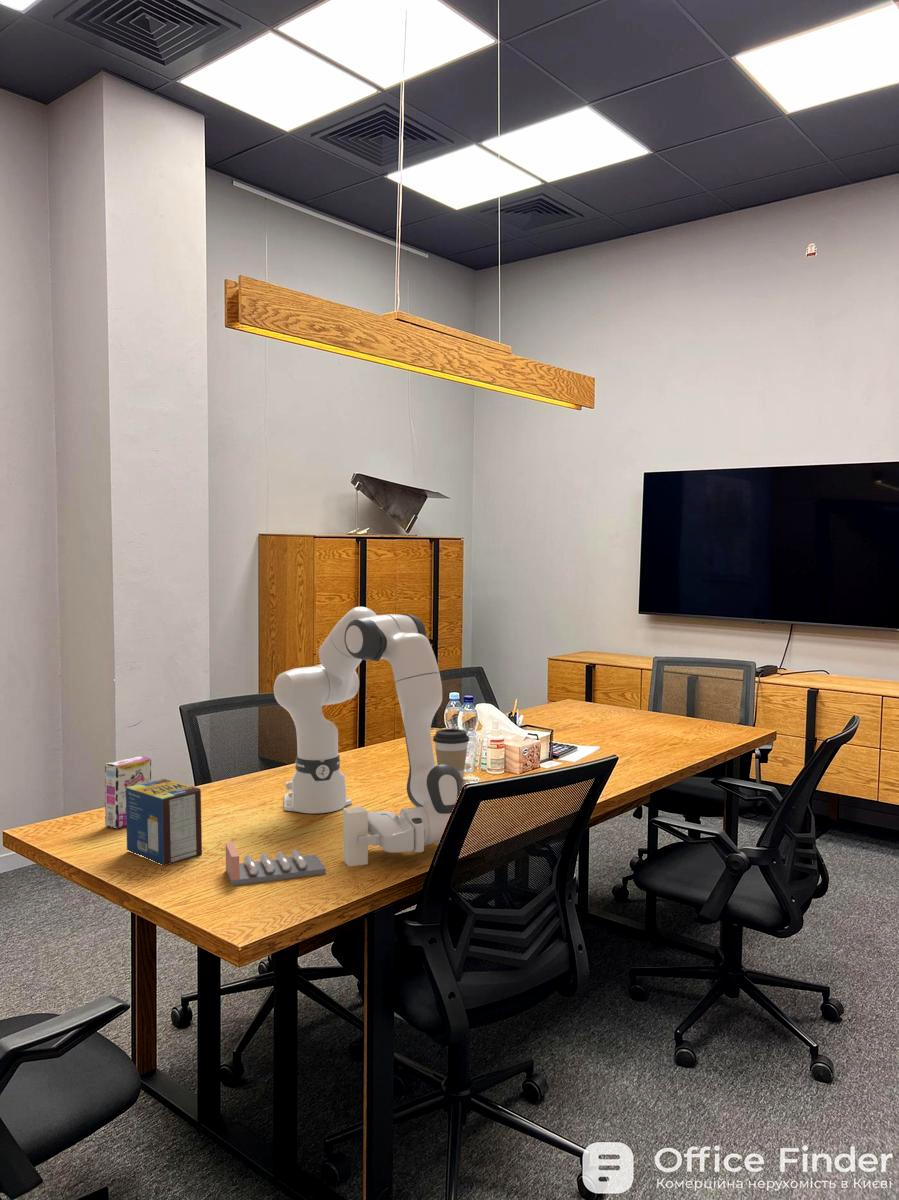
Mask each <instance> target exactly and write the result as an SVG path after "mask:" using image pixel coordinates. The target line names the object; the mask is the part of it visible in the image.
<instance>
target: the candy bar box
mask: <svg viewBox="0 0 899 1200" xmlns="http://www.w3.org/2000/svg"><path fill="white" fill-rule="evenodd" d="M148 782H152V758H151V757H150V758H149V757H146V756H135V757H131V758H130V757H129V758H126V759H120V760H116V761H112V762H107V763H105V764H104V787H105V788H104V793H105V796H104V805H105V806H104V807H105V808H104V811H105V812H104V814H105V815H104V819H105V820H104V821H105V822H104V823H105V824H104V826H105V827H106V826H107V827H106V828H109V827H112V828H111V829H113V828H116V829H115V830H119V829H118V828H120V829H122V827H123V828H125V827H124V826H126V827H127V824H126V787H129V786H134V785H139V784H143V783H148Z"/></svg>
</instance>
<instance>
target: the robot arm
mask: <svg viewBox="0 0 899 1200" xmlns="http://www.w3.org/2000/svg"><path fill="white" fill-rule="evenodd" d="M426 629H427V628H426V626H425V624H424V622H423V621H422V619H420V618H419V617H417V616H415V615H413V614H408V613H402V614H397V613H396V614H395V613H394V614H393V613H390V614H389V613H388V614H387V613H385V614H379V615H377V613H376V612H375V611H373V610H372V609H371V608H369V607H365V606H356V607H353V608H352V609H350V610H349V611H347V613H345V615H344V616H342V617H341V618H340V620H338V622H337V623H335V625H334V626H333V628H332V629H331V631H330V633H328V635H327V637H326V638H325V640H324V641H323V642H322V643H321V645H320V647H319V649H318V658H319V662H320V664H318V665H313V666H306V667H297V668H296V667H295V668H292V669H289V670H285V671H283V672H281V673H280V674H278V675H277V676H276V679H274V680H275V681H274V684H273V695H274V699H275V700H276V702H277V703H278V704H279V706H280V707H282V708H283V709H284V710H286V711H287V712H288V713H289V715H290V717H291V719H292V721H293V723H294V727H295V731H296V742H297V743H296V746H297V747H296V748H297V751H296V752H297V755H296V757H295V770H294V771H295V772H294V773H293V775H292V778H291V781H286V782H285V787H286V789H285V790H286V791H288V792H287V793H285V794H284V798H283V799H284V801H283V811H287V812H298V813H304V814H325V813H332V812H336V811H340V810H343V808H346V806H350V805H352V803H353V801H352V799H350V798H349V797H347V790H346V789H347V788H346V787H347V785H346V775H345V774H344V773H343V772H342V771H341V770H340V768H341V759H340V754H339V731H338V728H337V725H336V724H335V723H334V722H333V721H330V720H329V719H327V718H325V716H324V712H323V706H328V705H329V706H330V705H337V704H342V703H343V702H346V701H349V700H351V699H353V698H355V697H356V695H357V694H358V692H359V688H360V678H359V675H358V673H357V671H356V669H357V668H358V667H359V665H360V664H361V662H362V661H370V662H371V661H373V662H379V661H380V660H386V662H389V664H390V666H391V668H392V675H393V679H394V685H395V691H396V694H397V699H398V703H399V707H400V710H401V711H400V712H401V718H402V722H403V731H404V737H405V745H406V751H407V760H408V766H409V770H408V776H407V782H406V793H407V797H408V799H409V800H410V802H411V803H412V804H413V807H407V808H406V807H405V808H401V809H400V810H399V814H396V813H394V812H393V811H391V810H390V811H389V810H380V811H368V835H367V836H366V835H359V836H358V837H357V839H358V840H357V842H358V843H359V844H360V845H366V844H367V845H368V846H374V847H375V846H376V847H377V846H379V847H380V848H381V849H382V850H383V851H384V852H387V853H391V854H392V853H393V854H394V853H406V852H408V853H409V852H414V853H423V852H424V851H425V846H429V845H431V844H435V843H436V844H440V843H439V841H440V839H441V836H442V834H443V831H444V829H445V827H446V824H447V822H448V820H449V817H450V815H451V813H452V810H453V808H454V806H455V804H456V801H457V798H458V796H459V794H460V791H461V790H462V788H463V786H464V782H463V780H462V777H461V775H460V773H459V772H458V771H457V770H456V769H455V768H454V767H452V766H450V765H447V764H440V765H437V763H436V761H435V755H434V753H435V752H434V749H433V747H434V746H433V742H432V741H433V739H432V735H431V730H432V729H431V727H432V723H433V720H434V717H435V715H436V713H437V711H438V709H439V708H440V706H441V705H442V701H443V684H442V678H441V674H440V669H439V665H438V662H437V659H436V658H437V657H436V655H435V653H434V652H435V651H434V650H433V648H432V645H431V643H430V640H429V639H428V638H427V630H426ZM289 791H290V792H289Z"/></svg>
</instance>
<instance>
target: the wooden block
mask: <svg viewBox="0 0 899 1200" xmlns="http://www.w3.org/2000/svg"><path fill="white" fill-rule="evenodd" d="M368 812H369V811H368V810H367V809H366V808H365V807H364V806H361V805H360V806H353V807H343V808H342V832H343V833H342V842H343V843H342V846H343V847H342V850H343V852H342V854H343V855H342V856H343V857H342V858H343V860H344V861H343V862H344V863H345V865H346V866H347V867H357V866H364V865H365V864H366V865H368V864H369V860H368V859H369V850H368V848H369V845H367V844H366V845H360V844H359V843H358V842H357V840H358V839H357V837H358V836H359V835H366V836H367V835H369V834H368Z"/></svg>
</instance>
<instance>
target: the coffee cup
mask: <svg viewBox="0 0 899 1200" xmlns="http://www.w3.org/2000/svg"><path fill="white" fill-rule="evenodd" d="M432 741H433V742H434V748H435V756H436V765H440V764H447V765H450V766H452V767H454V768H455V769H456V770H457V771H458V772H459V773H460V775H461V777H462V781H463V778H464V775H465V768H466V767H465V766H466V759H467V751H468V742H470V736H469V735H468V734H467V732H466V730H464V729H458V728H443V729H439V730H438V729H437V731H436V732H435V735H433V737H432Z"/></svg>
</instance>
